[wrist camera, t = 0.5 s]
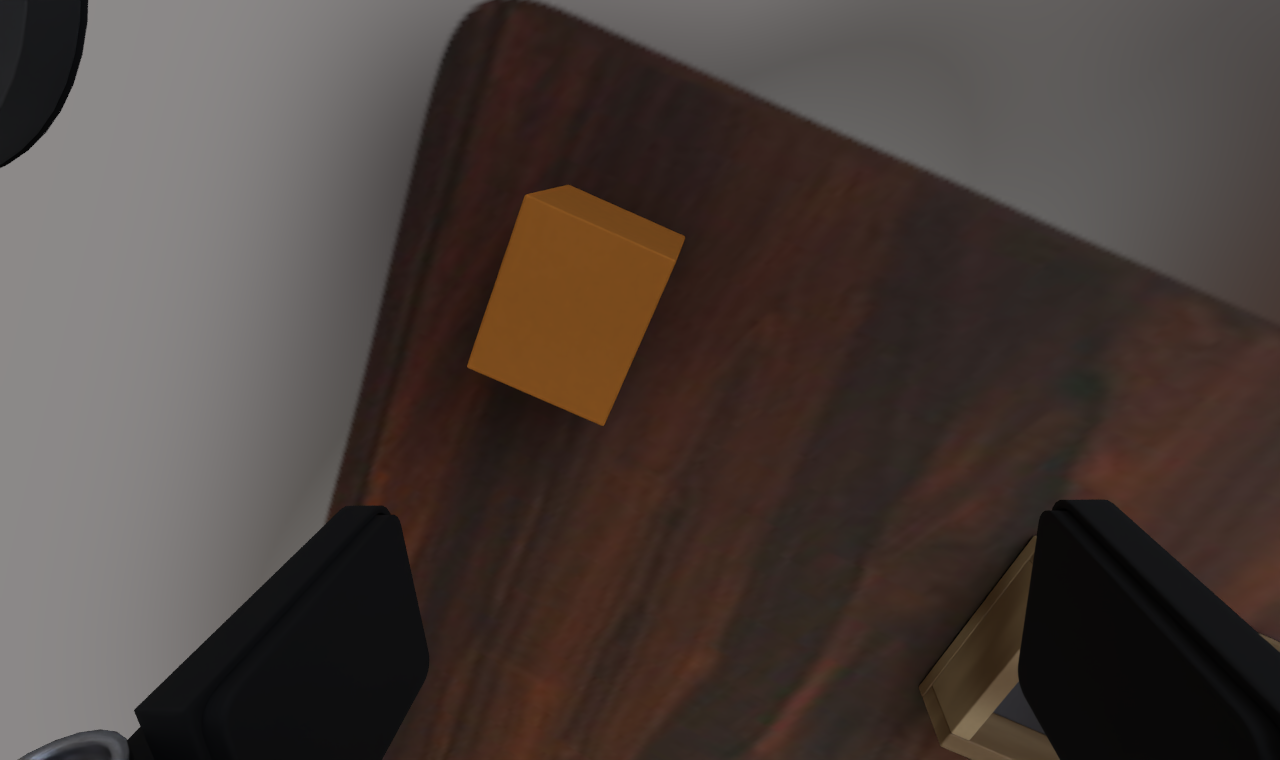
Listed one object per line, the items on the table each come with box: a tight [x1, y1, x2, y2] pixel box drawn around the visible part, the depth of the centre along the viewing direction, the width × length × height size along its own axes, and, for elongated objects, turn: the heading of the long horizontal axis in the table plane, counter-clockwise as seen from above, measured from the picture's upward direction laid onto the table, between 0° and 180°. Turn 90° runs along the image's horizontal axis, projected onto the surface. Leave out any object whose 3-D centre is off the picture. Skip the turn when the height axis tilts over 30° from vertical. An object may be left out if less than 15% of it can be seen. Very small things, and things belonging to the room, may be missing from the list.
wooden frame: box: [919, 536, 1280, 760], centre depth 26 cm, size 9×16×3 cm, turn 67°
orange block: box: [467, 185, 685, 426], centre depth 22 cm, size 6×5×6 cm
